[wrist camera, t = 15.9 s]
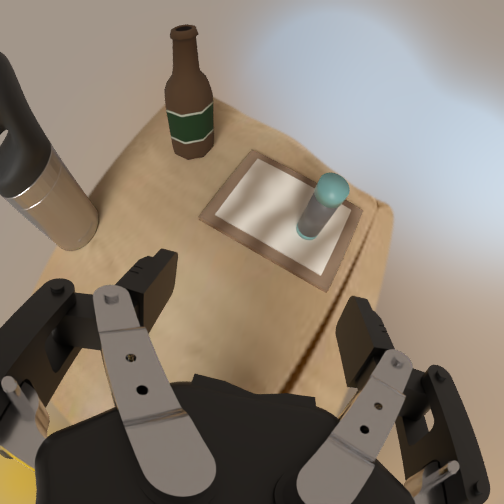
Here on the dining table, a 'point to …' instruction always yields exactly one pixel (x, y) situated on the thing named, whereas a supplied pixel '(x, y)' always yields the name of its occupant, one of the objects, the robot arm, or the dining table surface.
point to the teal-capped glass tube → (322, 205)
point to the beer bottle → (188, 98)
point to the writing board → (280, 219)
